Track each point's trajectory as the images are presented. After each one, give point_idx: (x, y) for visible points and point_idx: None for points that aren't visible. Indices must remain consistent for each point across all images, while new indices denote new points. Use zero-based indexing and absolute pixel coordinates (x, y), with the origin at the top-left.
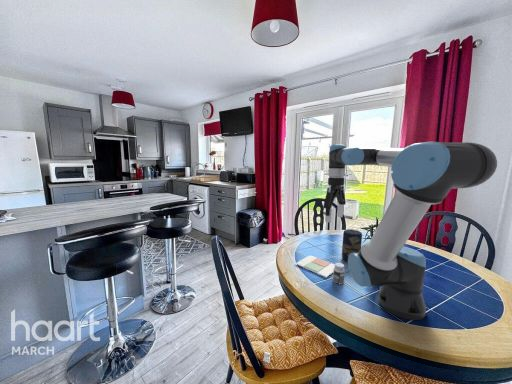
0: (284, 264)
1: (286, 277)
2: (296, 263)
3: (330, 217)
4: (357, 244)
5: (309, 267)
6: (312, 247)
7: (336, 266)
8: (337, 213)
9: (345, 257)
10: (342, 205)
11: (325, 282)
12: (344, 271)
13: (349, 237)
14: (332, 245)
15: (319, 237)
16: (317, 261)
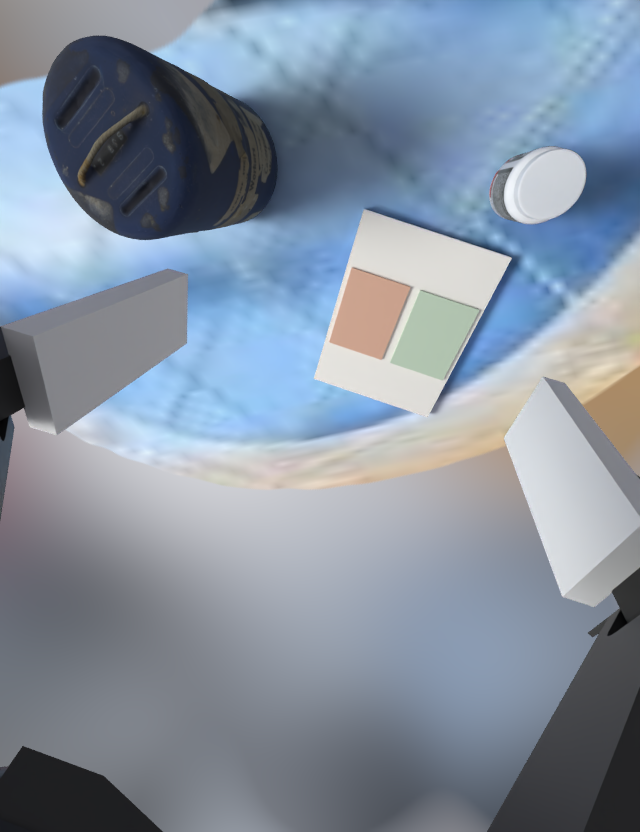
0: (442, 451)
1: None
2: (428, 413)
3: (593, 425)
4: (208, 92)
5: (450, 354)
6: (213, 385)
7: (573, 203)
8: (164, 355)
9: (267, 193)
10: (44, 339)
11: (549, 252)
12: (554, 146)
13: (209, 168)
14: None
15: None
16: (368, 333)
